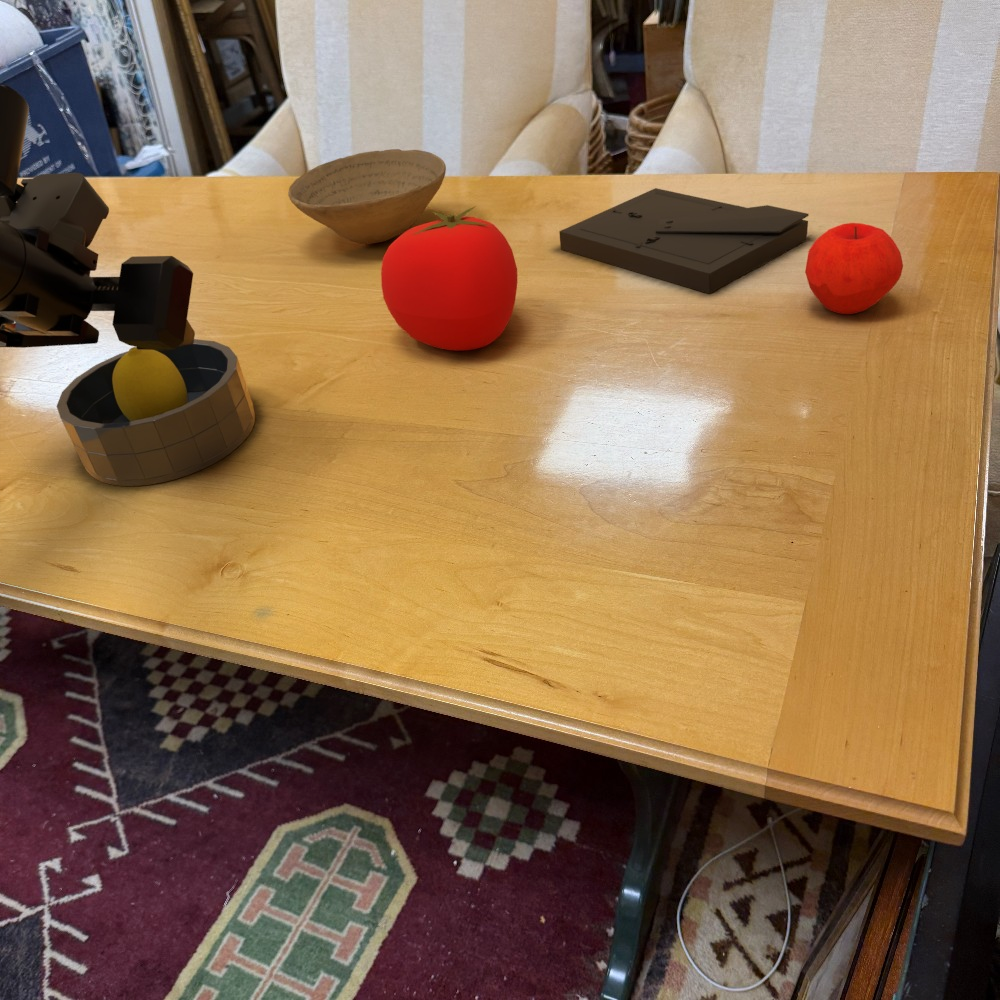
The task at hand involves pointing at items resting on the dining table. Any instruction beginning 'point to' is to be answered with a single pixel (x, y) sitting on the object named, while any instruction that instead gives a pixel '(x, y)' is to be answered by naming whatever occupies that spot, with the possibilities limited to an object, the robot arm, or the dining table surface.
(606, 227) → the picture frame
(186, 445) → the pot
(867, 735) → the dining table surface
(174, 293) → the robot arm
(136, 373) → the lemon
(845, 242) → the apple
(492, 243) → the tomato
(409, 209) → the bowl
